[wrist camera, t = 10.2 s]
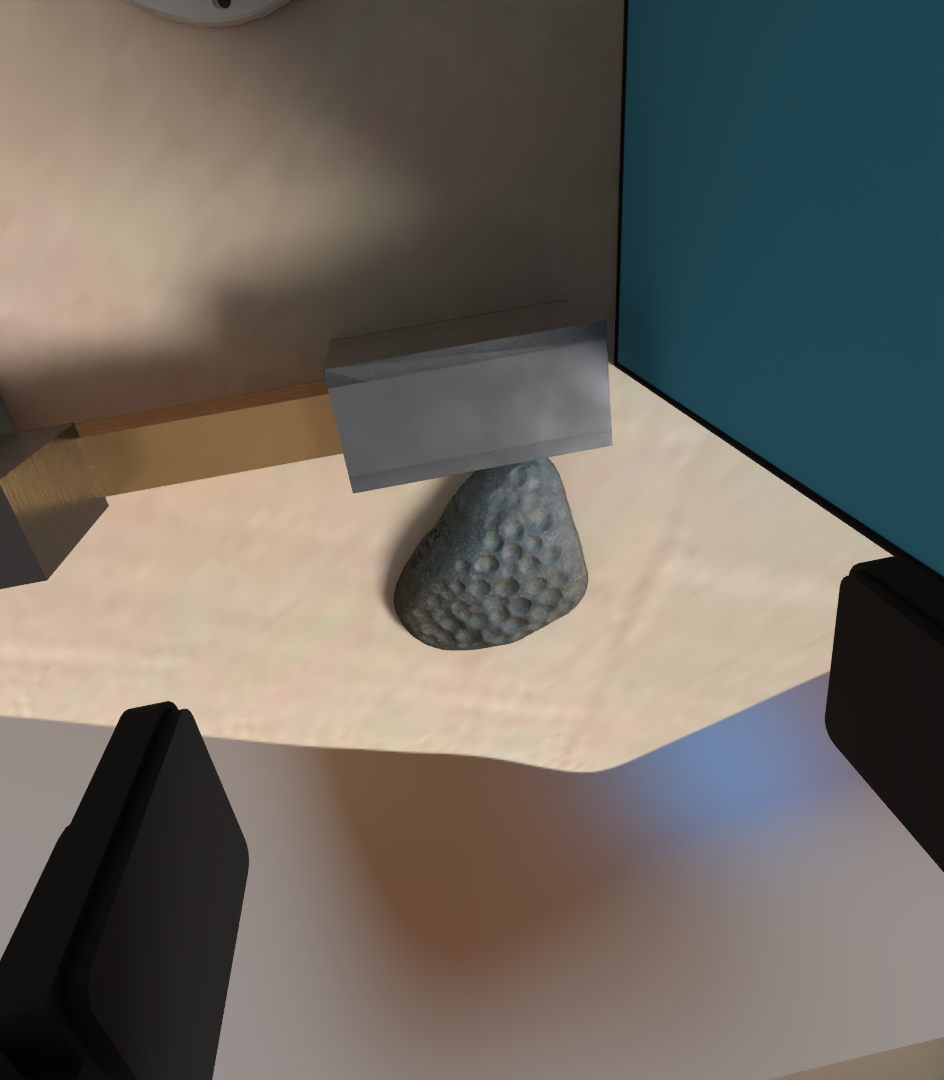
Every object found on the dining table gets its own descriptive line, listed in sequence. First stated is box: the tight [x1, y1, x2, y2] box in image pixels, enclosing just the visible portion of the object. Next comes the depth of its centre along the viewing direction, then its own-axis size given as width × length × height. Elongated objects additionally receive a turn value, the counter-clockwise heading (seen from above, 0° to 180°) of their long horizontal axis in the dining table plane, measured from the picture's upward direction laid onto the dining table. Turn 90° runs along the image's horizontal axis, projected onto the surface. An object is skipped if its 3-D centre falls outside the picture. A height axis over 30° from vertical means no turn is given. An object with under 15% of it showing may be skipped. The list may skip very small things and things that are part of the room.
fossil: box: [394, 457, 588, 650], centre depth 40 cm, size 10×13×4 cm
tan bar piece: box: [0, 380, 343, 589], centre depth 29 cm, size 4×22×9 cm, turn 98°
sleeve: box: [323, 300, 612, 493], centre depth 33 cm, size 6×12×6 cm, turn 98°
